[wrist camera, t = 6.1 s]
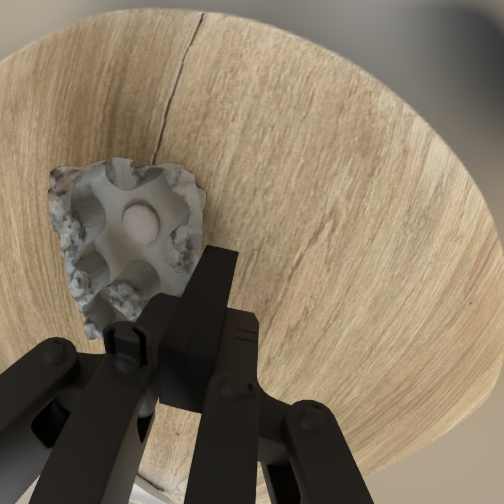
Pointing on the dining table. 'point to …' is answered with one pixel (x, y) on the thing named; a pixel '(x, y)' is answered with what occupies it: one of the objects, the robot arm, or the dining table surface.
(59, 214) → the egg carton
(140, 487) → the plate
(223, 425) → the robot arm
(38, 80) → the dining table surface
